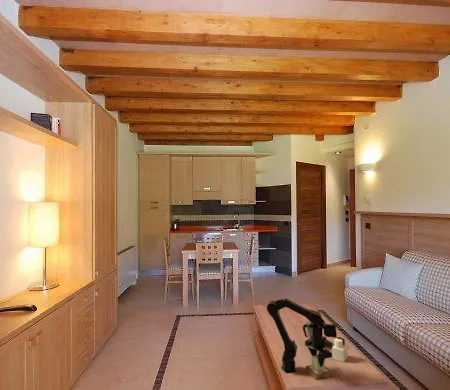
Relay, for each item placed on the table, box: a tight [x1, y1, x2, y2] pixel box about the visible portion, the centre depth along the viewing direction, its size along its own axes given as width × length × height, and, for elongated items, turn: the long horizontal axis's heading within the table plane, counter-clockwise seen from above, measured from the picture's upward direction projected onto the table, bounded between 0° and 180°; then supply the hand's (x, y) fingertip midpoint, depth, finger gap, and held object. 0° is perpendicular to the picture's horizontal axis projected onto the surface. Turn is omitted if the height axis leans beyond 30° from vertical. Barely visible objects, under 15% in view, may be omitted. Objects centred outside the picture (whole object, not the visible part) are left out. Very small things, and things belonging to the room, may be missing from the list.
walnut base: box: [305, 364, 333, 380], centre depth 175 cm, size 10×10×3 cm
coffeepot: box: [302, 320, 312, 348], centre depth 210 cm, size 15×9×18 cm, turn 119°
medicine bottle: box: [331, 336, 349, 363], centre depth 192 cm, size 7×7×12 cm
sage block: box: [311, 354, 326, 371], centre depth 176 cm, size 5×5×6 cm
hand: (318, 364), depth 176 cm, fingers open, 5 cm apart
